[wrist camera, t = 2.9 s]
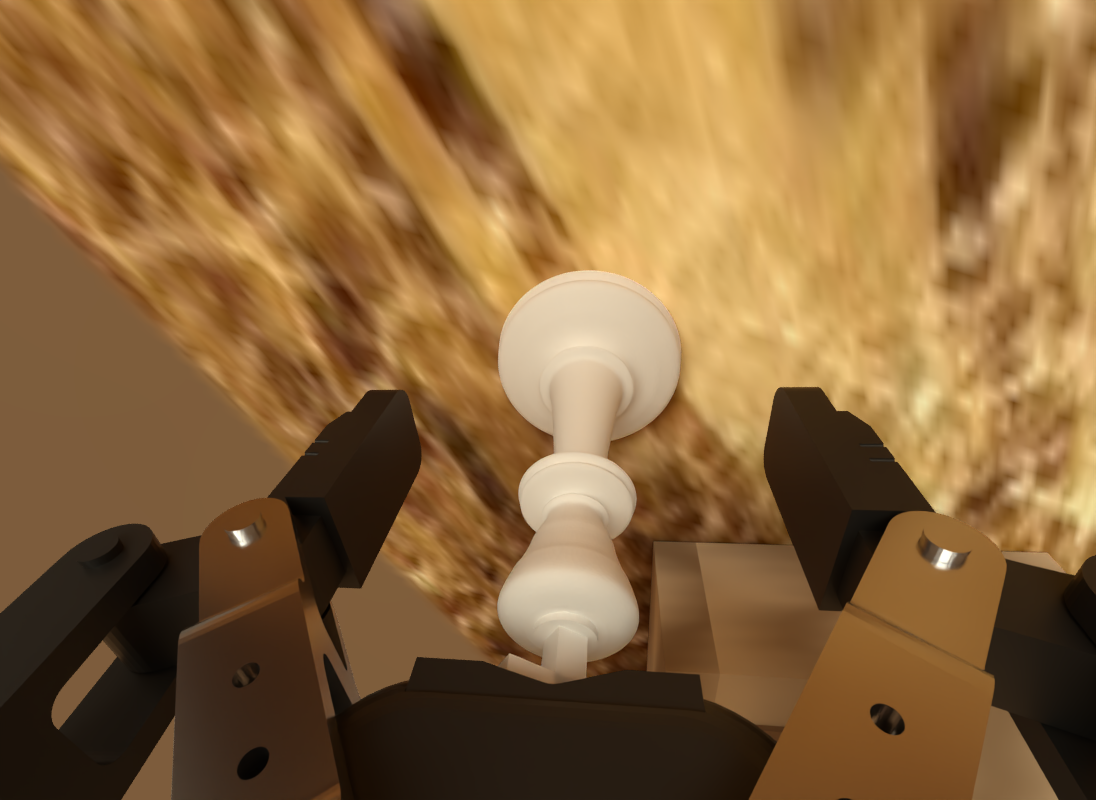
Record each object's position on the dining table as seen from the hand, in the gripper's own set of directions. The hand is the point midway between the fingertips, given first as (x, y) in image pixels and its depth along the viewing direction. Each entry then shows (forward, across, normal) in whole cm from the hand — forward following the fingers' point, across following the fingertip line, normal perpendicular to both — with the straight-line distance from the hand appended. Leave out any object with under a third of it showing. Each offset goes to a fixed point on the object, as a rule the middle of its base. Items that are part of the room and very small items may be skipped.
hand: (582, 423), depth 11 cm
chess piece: (+3, 0, 0) cm, 3 cm away
